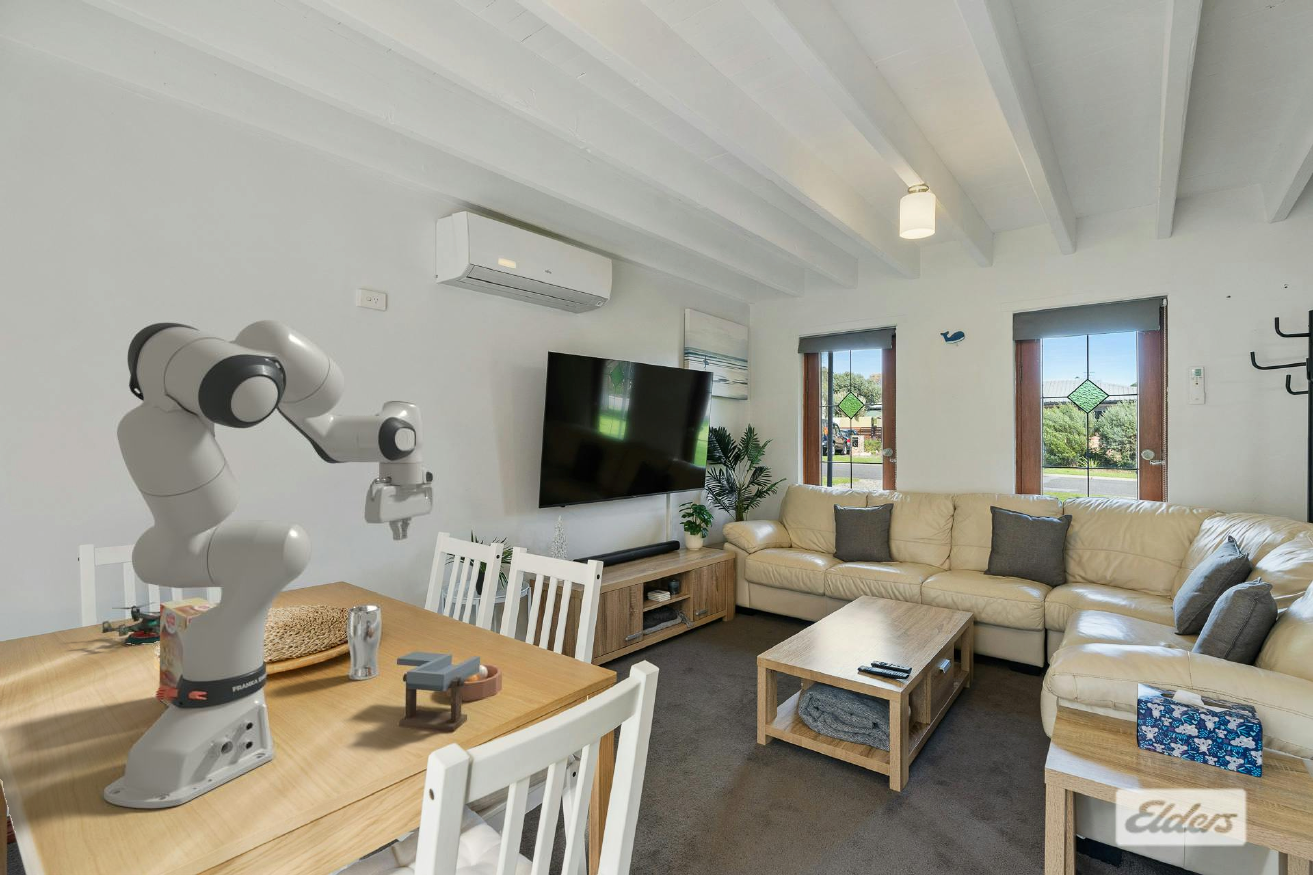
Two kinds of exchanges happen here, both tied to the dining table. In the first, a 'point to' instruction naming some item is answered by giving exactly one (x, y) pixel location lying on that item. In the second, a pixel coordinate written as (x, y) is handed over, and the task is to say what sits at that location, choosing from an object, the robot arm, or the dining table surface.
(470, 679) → the orange ball
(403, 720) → the trough stand
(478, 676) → the cream ball
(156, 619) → the toy helicopter
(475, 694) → the round terracotta tray
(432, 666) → the tipping trough
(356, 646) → the beer glass
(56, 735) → the dining table surface
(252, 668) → the robot arm
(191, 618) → the coffeecake box
